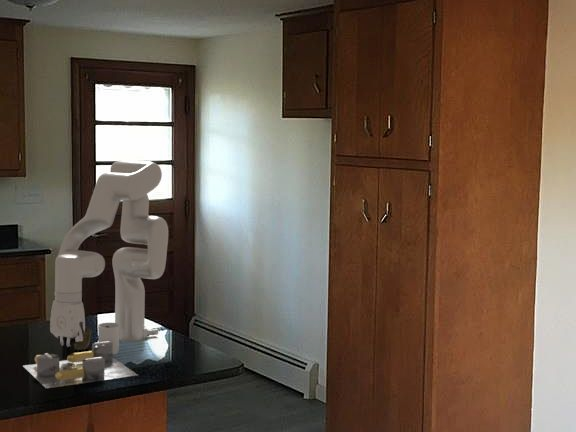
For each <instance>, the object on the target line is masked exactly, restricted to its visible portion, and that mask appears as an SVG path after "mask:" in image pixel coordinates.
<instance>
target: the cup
mask: <svg viewBox="0 0 576 432" xmlns="http://www.w3.org/2000/svg"><path fill="white" fill-rule="evenodd" d="M91 336H92V328H91V327H90V326H89V327H87V326H85V333H84V335H83V341H79V342H76V345H74V351H77V352H79V351H81V352H83V351H85V350H86V349H87V348H88V347H89V345H90V344H91V338H92V337H91ZM71 339H72V338H71Z"/></svg>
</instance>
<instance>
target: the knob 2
mask: <svg viewBox="0 0 576 432" xmlns="http://www.w3.org/2000/svg"><path fill="white" fill-rule="evenodd" d="M113 355H114V354H113V344H112V343H111V342H110V341H105V342H99V341H97V342H93V343H91V350H88V351H81V352H79V351H77V352H74V353H70V355H68V357H67V360H68V361H69V362H71V363H74V362H81V361H82V360H83V359H86V358H92V357H101V358H103V359H104V360H105V363H109V362H112V361H113V358H114V357H113Z"/></svg>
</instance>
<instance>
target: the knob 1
mask: <svg viewBox="0 0 576 432" xmlns="http://www.w3.org/2000/svg"><path fill="white" fill-rule="evenodd" d="M59 361H60V355H58V354H53V353H50V354H49V353H48V352H46V353H44V354H36V355H35V357H34V362H35V364H37V376H38V377H41V378H52V377H55V374H56V373H57V372H59Z"/></svg>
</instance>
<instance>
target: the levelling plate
mask: <svg viewBox="0 0 576 432" xmlns="http://www.w3.org/2000/svg"><path fill="white" fill-rule="evenodd" d="M22 367H23V368H24V369H25V371H27V372H29V374H30V375H32V377H33V378H34V379H36V381H38V383H39V384H40V385H42V386H43V387H44V388H45V389H51V388H52V389H53V388H58V387H64V386H65V387H66V386H73V385H80V384H86V383H94V382H96V381H85V380H83V379H82V378H75V379H68V380H61V381H60V380H58V379H56V377H52V378H41V377H38V376H37V364H36V363H35V364H34V363H33V364H25V365H22ZM74 368H82V361H81V362H74V363H71V362H69V361H68V360H65V359H64V360H59V370H67V369H74ZM136 376H138V374H137V373H136V372H135V371H133V370H132V369H130V368H129V367H127V366H126V365H124V364H123V363H122V362H120V361H119V360H117V359H116V358H114V357H113V361H112V362H109V363H105V372H104V379H103V380H100V381H107V380H116V379H121V378H128V377H136ZM100 381H99V382H100Z"/></svg>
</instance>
